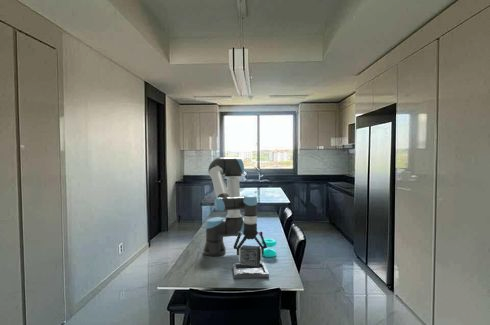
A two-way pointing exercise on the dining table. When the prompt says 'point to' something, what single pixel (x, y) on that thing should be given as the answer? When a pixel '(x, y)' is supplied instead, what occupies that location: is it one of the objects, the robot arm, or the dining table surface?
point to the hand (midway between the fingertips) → (250, 260)
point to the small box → (250, 256)
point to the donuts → (269, 251)
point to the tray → (250, 271)
